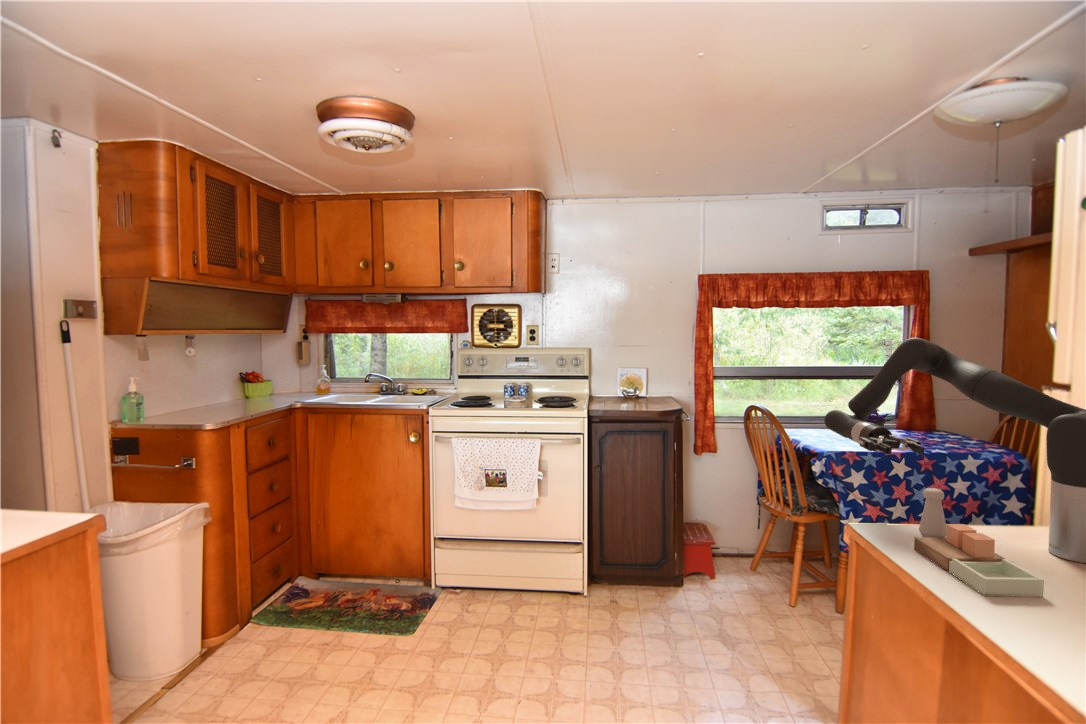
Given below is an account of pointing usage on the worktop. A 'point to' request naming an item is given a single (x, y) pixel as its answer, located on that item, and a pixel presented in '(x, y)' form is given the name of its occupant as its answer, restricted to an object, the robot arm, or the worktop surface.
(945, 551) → the board
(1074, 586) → the worktop surface
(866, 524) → the worktop surface
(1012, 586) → the tray
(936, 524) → the salt shaker
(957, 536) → the light orange cube
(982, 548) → the peach cube
